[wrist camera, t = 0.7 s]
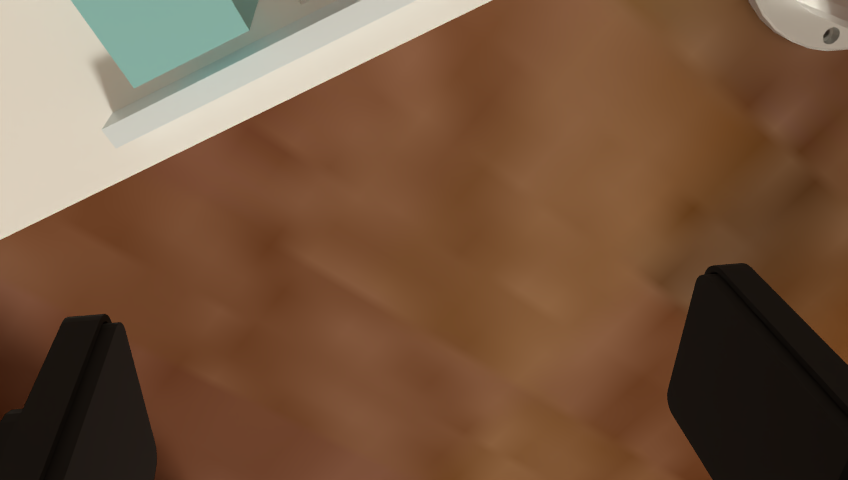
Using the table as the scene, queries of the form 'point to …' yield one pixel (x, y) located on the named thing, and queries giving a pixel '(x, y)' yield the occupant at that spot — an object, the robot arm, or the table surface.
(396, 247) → the table surface
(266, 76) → the deck
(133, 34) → the block
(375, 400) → the table surface
